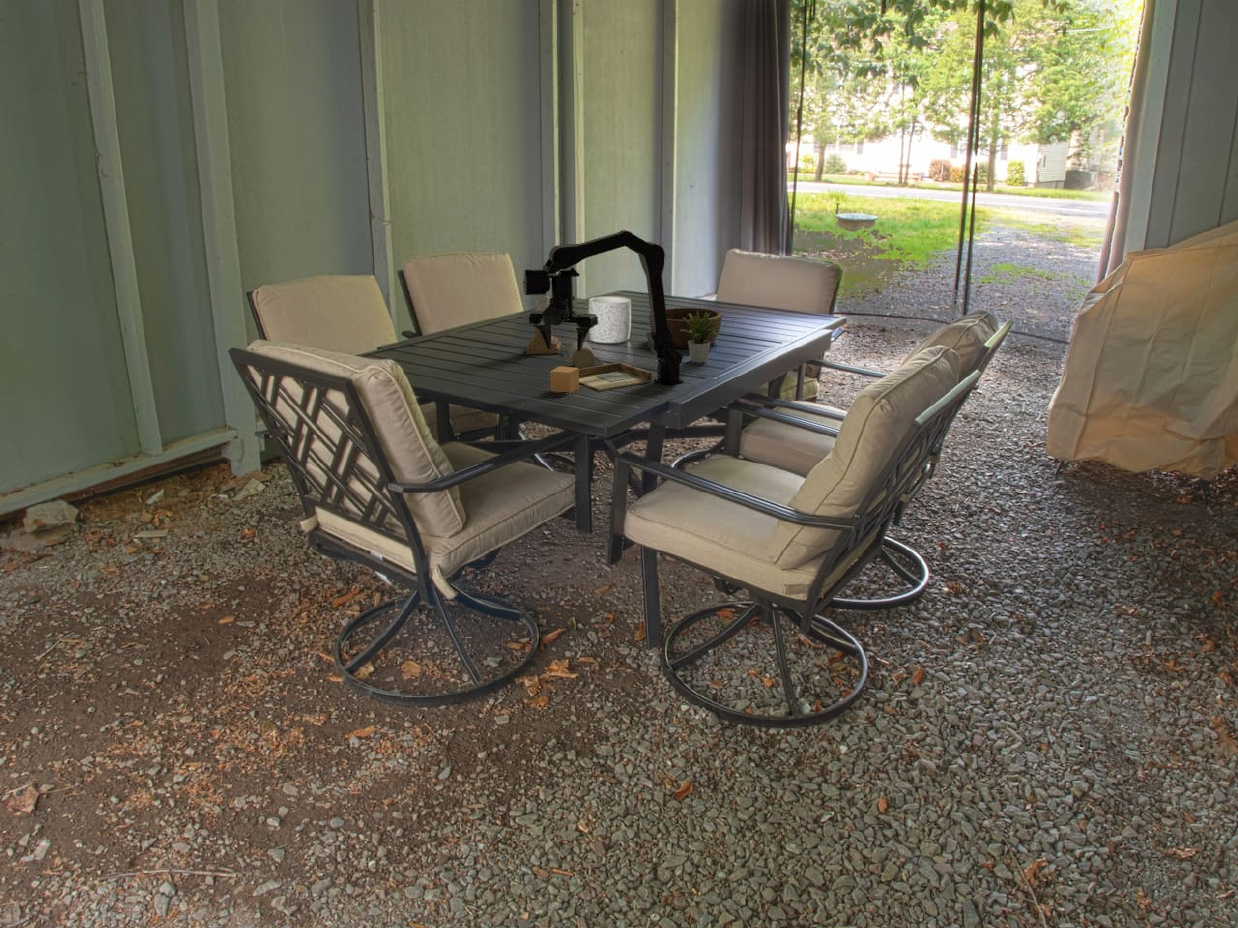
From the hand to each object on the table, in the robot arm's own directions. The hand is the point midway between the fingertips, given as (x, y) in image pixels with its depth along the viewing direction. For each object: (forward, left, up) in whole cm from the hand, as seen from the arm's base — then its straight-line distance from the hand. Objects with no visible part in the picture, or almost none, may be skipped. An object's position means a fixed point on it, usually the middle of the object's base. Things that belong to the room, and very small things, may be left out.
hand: (564, 349), depth 242 cm
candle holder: (+48, -20, -12) cm, 53 cm away
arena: (+1, -16, -11) cm, 20 cm away
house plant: (+4, -52, -12) cm, 53 cm away
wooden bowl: (+30, -66, -12) cm, 73 cm away
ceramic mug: (+20, -19, -12) cm, 30 cm away
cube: (0, 0, -12) cm, 12 cm away
